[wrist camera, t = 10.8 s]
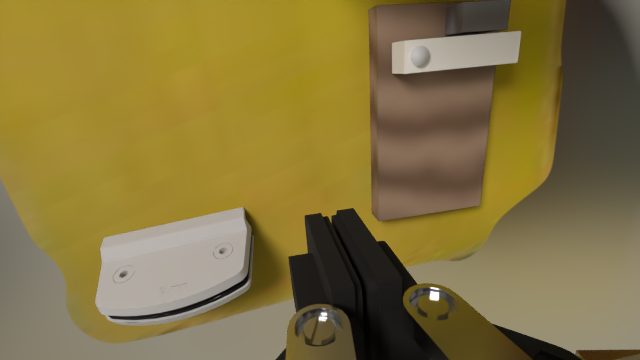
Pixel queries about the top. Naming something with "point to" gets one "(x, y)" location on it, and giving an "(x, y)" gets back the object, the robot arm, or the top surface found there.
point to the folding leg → (455, 52)
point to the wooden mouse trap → (429, 111)
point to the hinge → (175, 269)
